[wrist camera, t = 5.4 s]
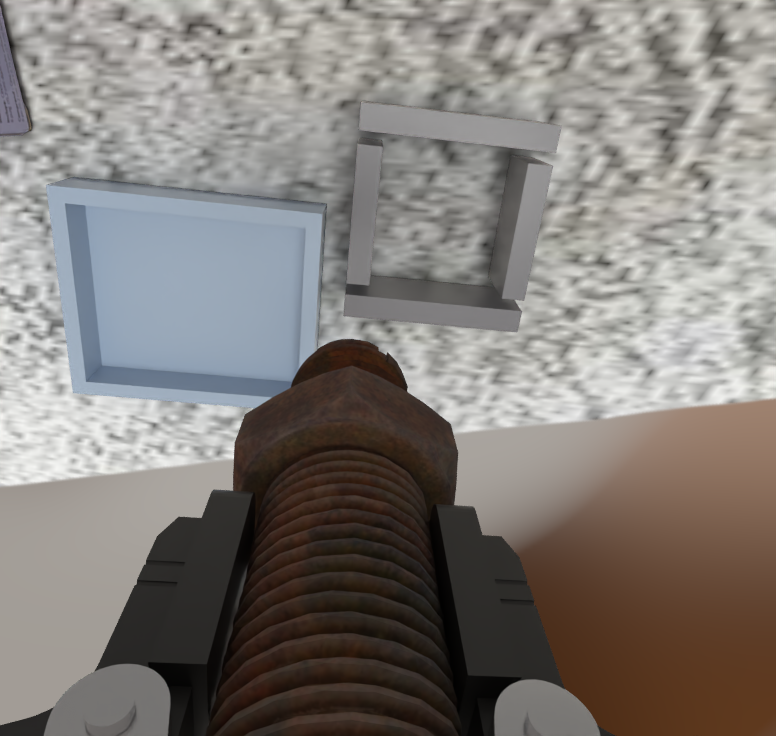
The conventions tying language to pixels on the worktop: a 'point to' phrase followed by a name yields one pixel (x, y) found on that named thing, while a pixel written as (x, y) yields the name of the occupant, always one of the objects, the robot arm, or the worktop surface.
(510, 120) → the holder
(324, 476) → the bolt
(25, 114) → the cake pan box
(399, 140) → the worktop surface
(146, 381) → the parts tray
